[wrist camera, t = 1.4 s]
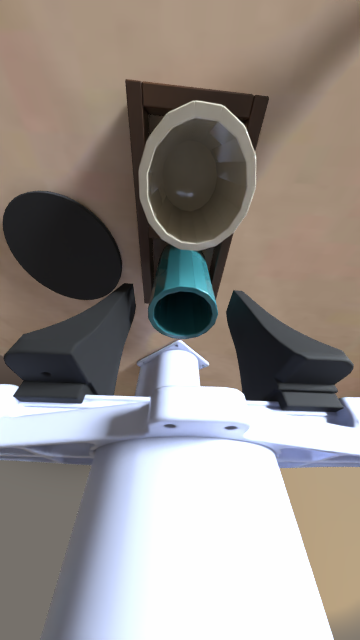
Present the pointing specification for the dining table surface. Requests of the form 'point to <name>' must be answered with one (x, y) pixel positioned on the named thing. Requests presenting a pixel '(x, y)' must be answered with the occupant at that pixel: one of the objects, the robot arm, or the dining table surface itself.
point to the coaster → (62, 245)
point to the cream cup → (197, 175)
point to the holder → (140, 104)
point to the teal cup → (182, 295)
